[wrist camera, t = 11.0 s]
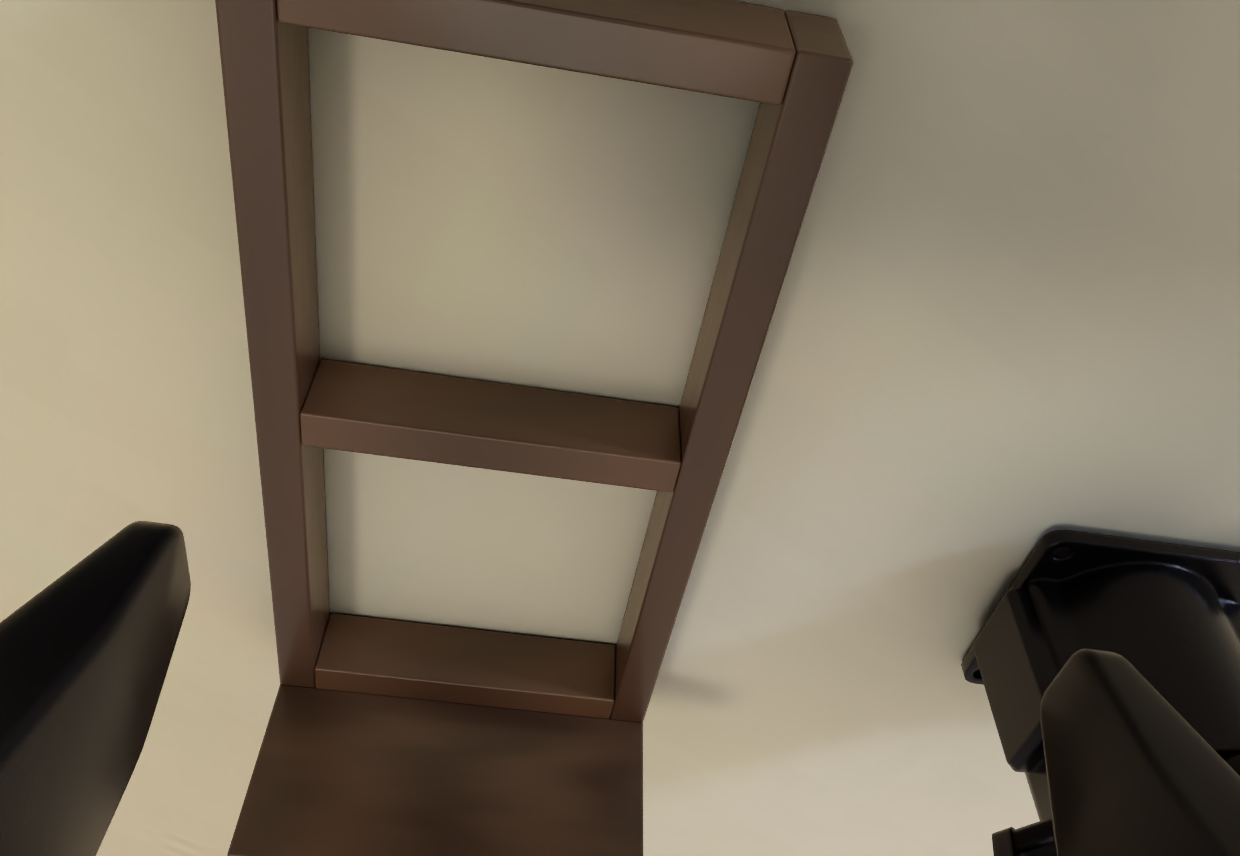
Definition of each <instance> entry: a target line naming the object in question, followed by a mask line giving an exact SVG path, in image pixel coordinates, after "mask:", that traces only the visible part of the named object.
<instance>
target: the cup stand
mask: <svg viewBox="0 0 1240 856" xmlns="http://www.w3.org/2000/svg"><path fill="white" fill-rule="evenodd" d="M215 2H216V12H217V23H218V33H219V44H220V54H221V65H222V75H223V86H224V96H225V107H226V117H227V128H228V138H229V149H230V159H231V170H232V180H233V191H234V201H235V212H236V222H237V233H238V244H239V254H240V265H241V275H242V286H243V296H244V307H245V317H246V328H247V338H248V349H249V359H250V370H251V380H252V391H253V401H254V412H255V422H256V433H257V443H258V454H259V464H260V475H261V485H262V496H263V506H264V517H265V527H266V538H267V548H268V559H269V569H270V580H271V590H272V601H273V611H274V622H275V632H276V643H277V653H278V664H279V674H280V683H281V684H280V687H279V690H278V694H277V697H276V700H275V703H274V707H273V710H272V713H271V716H270V719H269V723H268V726H267V729H266V732H265V735H264V739H263V742H262V745H261V748H260V751H259V755H258V758H257V761H256V764H255V768H254V771H253V774H252V777H251V780H250V784H249V787H248V790H247V793H246V796H245V800H244V803H243V806H242V809H241V813H240V816H239V819H238V822H237V825H236V829H235V832H234V835H233V838H232V841H231V845H230V848H229V851H228V856H643V720H644V717H645V714H646V711H647V708H648V704H649V701H650V698H651V695H652V692H653V689H654V686H655V683H656V679H657V676H658V673H659V670H660V667H661V664H662V661H663V657H664V654H665V651H666V648H667V645H668V642H669V639H670V636H671V632H672V629H673V626H674V623H675V620H676V617H677V614H678V610H679V607H680V604H681V601H682V598H683V595H684V592H685V589H686V585H687V582H688V579H689V576H690V573H691V570H692V567H693V564H694V560H695V557H696V554H697V551H698V548H699V545H700V542H701V538H702V535H703V532H704V529H705V526H706V523H707V520H708V517H709V513H710V510H711V507H712V504H713V501H714V498H715V495H716V491H717V488H718V485H719V482H720V479H721V476H722V473H723V470H724V466H725V463H726V460H727V457H728V454H729V451H730V448H731V445H732V441H733V438H734V435H735V432H736V429H737V426H738V423H739V419H740V416H741V413H742V410H743V407H744V404H745V401H746V398H747V394H748V391H749V388H750V385H751V382H752V379H753V376H754V372H755V369H756V366H757V363H758V360H759V357H760V354H761V351H762V347H763V344H764V341H765V338H766V335H767V332H768V329H769V325H770V322H771V319H772V316H773V313H774V310H775V307H776V304H777V300H778V297H779V294H780V291H781V288H782V285H783V282H784V279H785V275H786V272H787V269H788V266H789V263H790V260H791V257H792V253H793V250H794V247H795V244H796V241H797V238H798V235H799V232H800V228H801V225H802V222H803V219H804V216H805V213H806V210H807V206H808V203H809V200H810V197H811V194H812V191H813V188H814V185H815V181H816V178H817V175H818V172H819V169H820V166H821V163H822V160H823V156H824V153H825V150H826V147H827V144H828V141H829V138H830V134H831V131H832V128H833V125H834V122H835V119H836V116H837V113H838V109H839V106H840V103H841V100H842V97H843V94H844V91H845V87H846V84H847V81H848V78H849V75H850V72H851V69H852V66H853V59H852V56H851V54H850V51H849V49H848V46H847V44H846V42H845V39H844V37H843V34H842V32H841V29H840V27H839V24H838V22H837V20H836V19H833V18H827V17H821V16H815V15H810V14H804V13H798V12H793V11H786V12H785V13H784V11H783V10H781V9H776V8H770V7H764V6H759V5H753V4H747V3H742V2H736V1H730V0H215ZM307 27H310V28H316V29H322V30H328V31H334V32H340V33H346V34H352V35H358V36H364V37H370V38H376V39H382V40H388V41H394V42H400V43H406V44H412V45H418V46H424V47H430V48H436V49H442V50H448V51H454V52H460V53H466V54H472V55H478V56H484V57H490V58H496V59H503V60H509V61H515V62H521V63H527V64H533V65H539V66H545V67H551V68H557V69H563V70H569V71H575V72H581V73H587V74H593V75H599V76H605V77H611V78H617V79H623V80H629V81H635V82H641V83H647V84H653V85H659V86H665V87H671V88H677V89H683V90H689V91H695V92H701V93H707V94H713V95H719V96H725V97H731V98H737V99H744V100H750V101H756V102H761V103H760V107H759V110H758V114H757V118H756V122H755V126H754V129H753V133H752V137H751V141H750V144H749V148H748V152H747V156H746V159H745V163H744V167H743V171H742V175H741V178H740V182H739V186H738V190H737V193H736V197H735V201H734V205H733V208H732V212H731V216H730V220H729V224H728V227H727V231H726V235H725V239H724V242H723V246H722V250H721V254H720V257H719V261H718V265H717V269H716V272H715V276H714V280H713V284H712V288H711V291H710V295H709V299H708V303H707V306H706V310H705V314H704V318H703V321H702V325H701V329H700V333H699V337H698V340H697V344H696V348H695V352H694V355H693V359H692V363H691V367H690V370H689V374H688V378H687V382H686V386H685V389H684V393H683V397H682V401H681V404H680V408H677V407H671V406H664V405H656V404H649V403H642V402H634V401H627V400H619V399H612V398H605V397H597V396H590V395H582V394H575V393H568V392H560V391H553V390H546V389H538V388H531V387H523V386H516V385H509V384H501V383H494V382H486V381H479V380H472V379H464V378H457V377H450V376H442V375H435V374H427V373H420V372H413V371H405V370H398V369H390V368H383V367H376V366H368V365H361V364H354V363H346V362H339V361H331V360H324V359H322V360H320V355H319V329H318V302H317V276H316V250H315V224H314V197H313V171H312V145H311V119H310V92H309V66H308V40H307ZM323 448H327V449H335V450H343V451H350V452H358V453H366V454H374V455H382V456H390V457H398V458H405V459H413V460H421V461H429V462H437V463H445V464H453V465H461V466H468V467H476V468H484V469H492V470H500V471H508V472H516V473H523V474H531V475H539V476H547V477H555V478H563V479H571V480H578V481H586V482H594V483H602V484H610V485H618V486H626V487H633V488H641V489H649V490H657V495H656V499H655V502H654V506H653V510H652V514H651V517H650V521H649V525H648V529H647V533H646V536H645V540H644V544H643V548H642V551H641V555H640V559H639V563H638V566H637V570H636V574H635V578H634V581H633V585H632V589H631V593H630V597H629V600H628V604H627V608H626V612H625V615H624V619H623V623H622V627H621V630H620V634H619V638H618V642H617V646H615V645H610V644H601V643H592V642H583V641H574V640H565V639H556V638H547V637H538V636H529V635H520V634H512V633H503V632H494V631H485V630H476V629H467V628H458V627H449V626H440V625H431V624H422V623H413V622H404V621H395V620H387V619H378V618H369V617H360V616H351V615H342V614H333V613H332V614H330V615H329V591H328V565H327V539H326V513H325V486H324V460H323Z"/></svg>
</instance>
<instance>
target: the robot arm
mask: <svg viewBox="0 0 1240 856" xmlns="http://www.w3.org/2000/svg"><path fill="white" fill-rule="evenodd" d="M190 586H191V582H190V575H189V568H188V562H187V555H186V548H185V542H184V536H183V533H182V531H181V530H180V528H179V527H177V526H174V525H170V524H162V523H155V522H148V521H137V522H134V523H132V524H130V525H128V526H127V527H125V528H124V529H123V530H121V531H120V532H119V533H117V534H116V535H115V536H114V537H112V538H111V539H110V540H108V541H107V542H106V543H104V544H103V545H102V546H100V547H99V548H98V549H96V550H95V551H94V552H93V553H91V554H90V555H89V556H87V557H86V558H85V559H83V560H82V561H81V562H79V563H78V564H77V565H75V566H74V567H73V568H72V569H70V570H69V571H68V572H66V573H65V574H64V575H62V576H61V577H60V578H58V579H57V580H56V581H54V582H53V583H52V584H51V585H49V586H48V587H47V588H45V589H44V590H43V591H41V592H40V593H39V594H37V595H36V596H35V597H34V598H32V599H31V600H30V601H28V602H27V603H26V604H24V605H23V606H22V607H20V608H19V609H18V610H16V611H15V612H14V613H13V614H11V615H10V616H9V617H7V618H6V619H5V620H3V621H2V622H1V623H0V856H96V854H97V852H98V849H99V847H100V845H101V843H102V840H103V838H104V836H105V834H106V831H107V829H108V827H109V825H110V822H111V820H112V818H113V816H114V813H115V811H116V809H117V807H118V804H119V802H120V800H121V798H122V795H123V793H124V791H125V789H126V786H127V784H128V782H129V780H130V778H131V775H132V773H133V771H134V768H135V766H136V763H137V761H138V758H139V756H140V754H141V751H142V749H143V746H144V743H145V740H146V737H147V734H148V731H149V728H150V724H151V721H152V718H153V715H154V712H155V708H156V705H157V702H158V699H159V696H160V692H161V689H162V686H163V683H164V680H165V676H166V673H167V670H168V667H169V663H170V660H171V657H172V654H173V651H174V647H175V644H176V641H177V638H178V635H179V631H180V628H181V625H182V622H183V619H184V615H185V612H186V609H187V605H188V601H189V596H190ZM961 666H962V669H963V673H964V676H965V679H966V680H967V681H969V682H971V683H976V684H984V686H985V690H986V693H987V696H988V700H989V703H990V706H991V710H992V713H993V716H994V720H995V723H996V726H997V730H998V733H999V736H1000V740H1001V743H1002V746H1003V750H1004V753H1005V757H1006V760H1007V762H1008V764H1009V765H1010V766H1011V768H1012V769H1013V770H1014V771H1016V772H1025V774H1026V777H1027V780H1028V784H1029V787H1030V790H1031V793H1032V796H1033V800H1034V803H1035V806H1036V809H1037V813H1038V816H1039V819H1040V821H1039V822H1037V823H1034V824H1031V825H1028V826H1025V827H1022V828H1019V829H1016V830H1015V829H1014V828H1012V827H1010V828H1007V829H1005V830H1002V831H999V832H996V833H993V834H992V841H993V851H994V856H1240V552H1235V551H1227V550H1219V549H1211V548H1204V547H1196V546H1188V545H1180V544H1173V543H1165V542H1157V541H1149V540H1141V539H1134V538H1126V537H1118V536H1110V535H1102V534H1095V533H1087V532H1079V531H1071V530H1056V531H1053V532H1050V533H1048V534H1046V535H1045V536H1044V537H1043V538H1042V539H1041V540H1040V541H1039V543H1038V544H1037V546H1036V547H1035V549H1034V550H1033V552H1032V554H1031V555H1030V557H1029V558H1028V560H1027V561H1026V563H1025V564H1024V566H1023V568H1022V569H1021V571H1020V572H1019V574H1018V575H1017V577H1016V578H1015V580H1014V582H1013V583H1012V585H1011V586H1010V588H1009V589H1008V591H1007V592H1006V593H1005V594H1004V596H1003V597H1002V599H1001V601H1000V602H999V604H998V605H997V607H996V608H995V610H994V611H993V613H992V615H991V616H990V618H989V619H988V621H987V622H986V624H985V625H984V627H983V629H982V630H981V632H980V633H979V635H978V636H977V638H976V639H975V641H974V643H973V645H972V647H971V648H970V650H969V651H968V653H967V655H966V656H965V658H964V659H963V661H962V664H961Z"/></svg>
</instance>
